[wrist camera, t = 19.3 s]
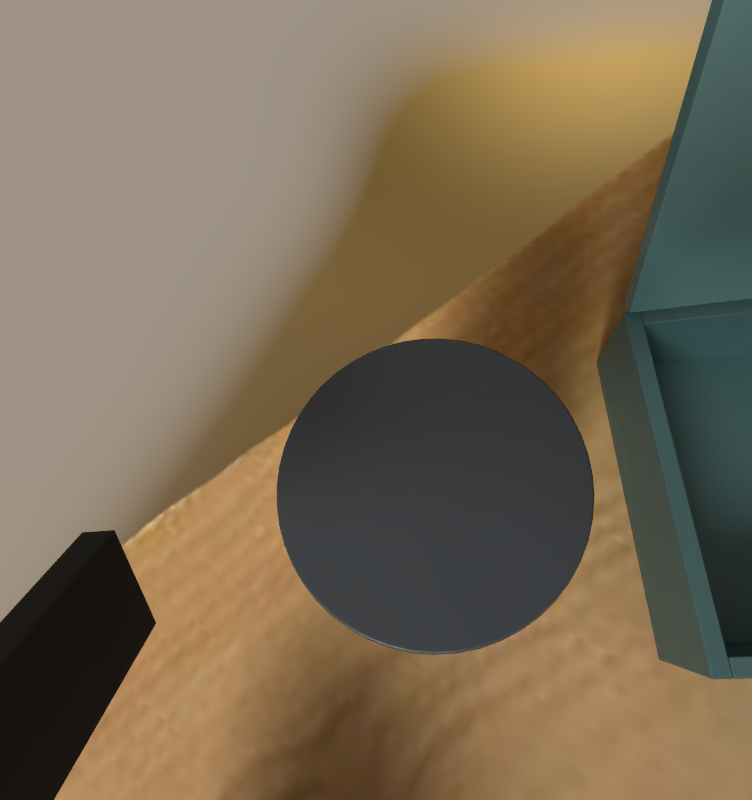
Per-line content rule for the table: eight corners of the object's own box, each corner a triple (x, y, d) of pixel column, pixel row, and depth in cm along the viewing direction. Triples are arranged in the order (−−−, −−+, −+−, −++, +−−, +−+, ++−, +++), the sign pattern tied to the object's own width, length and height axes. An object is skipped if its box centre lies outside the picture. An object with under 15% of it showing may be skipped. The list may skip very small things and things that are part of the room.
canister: (553, 486, 30) (632, 387, 15) (502, 651, 28) (537, 720, 13) (402, 434, 33) (346, 306, 18) (344, 581, 30) (224, 571, 16)
